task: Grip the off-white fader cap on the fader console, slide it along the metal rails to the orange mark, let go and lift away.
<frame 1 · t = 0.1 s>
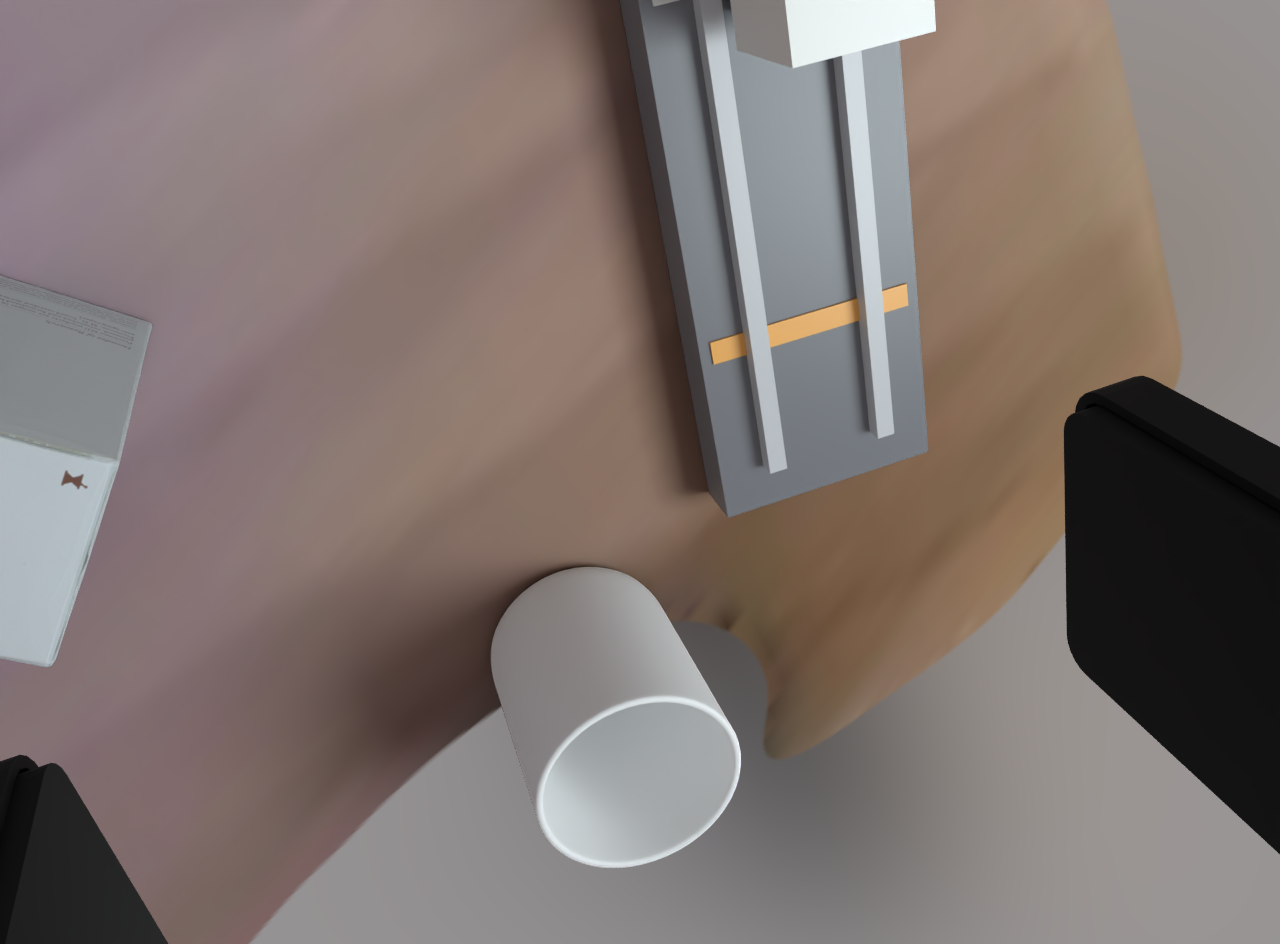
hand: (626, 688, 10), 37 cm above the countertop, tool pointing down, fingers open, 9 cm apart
supplement box: (24, 375, 43), on the countertop
mug: (595, 655, 56), on the countertop
fader console: (769, 171, 48), on the countertop
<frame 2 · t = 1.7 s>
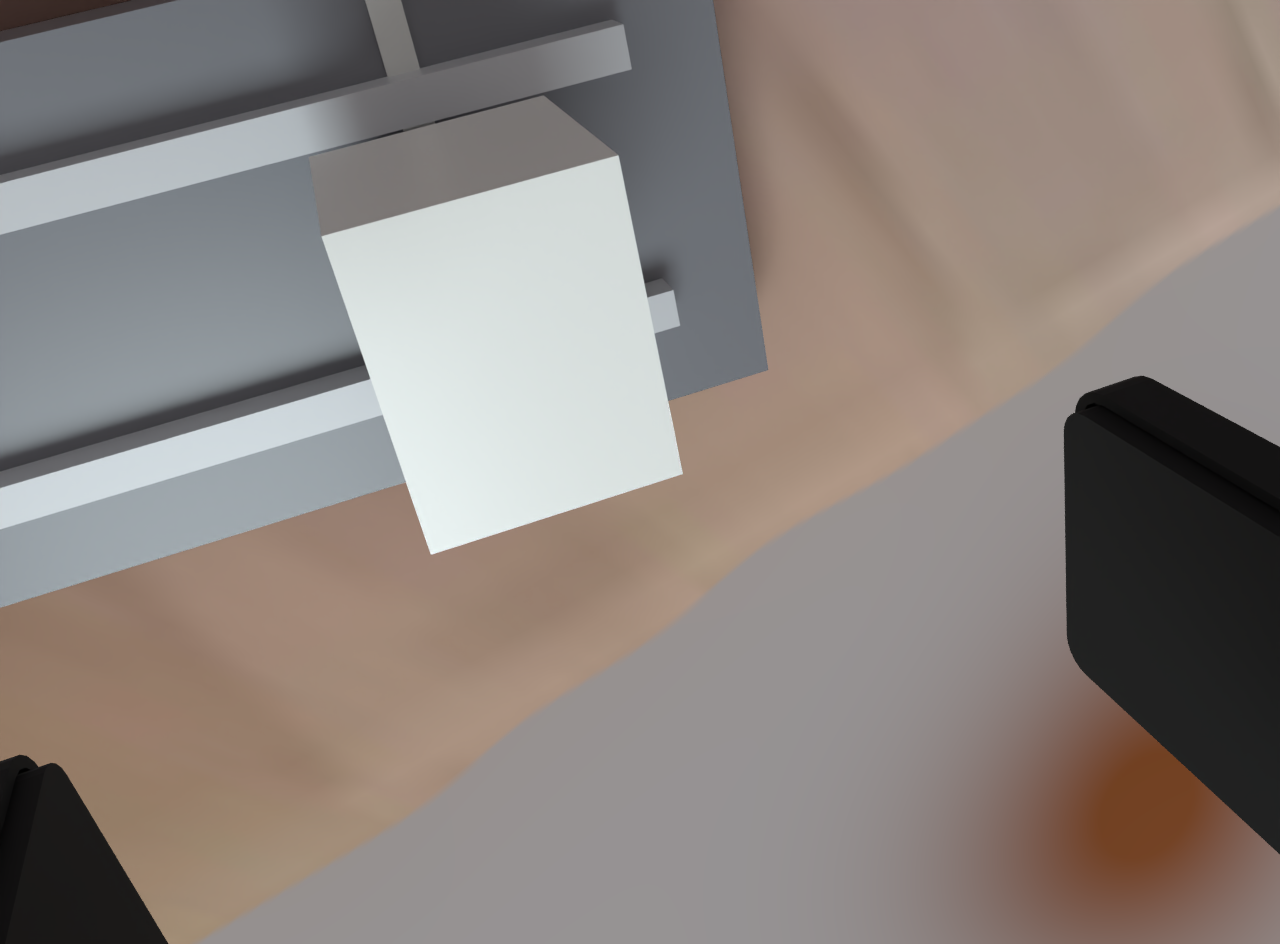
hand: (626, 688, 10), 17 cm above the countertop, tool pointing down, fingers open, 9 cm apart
fader cap: (479, 289, 19), point 6 cm above the countertop, slide at -8.0 cm
fader console: (49, 302, 23), on the countertop
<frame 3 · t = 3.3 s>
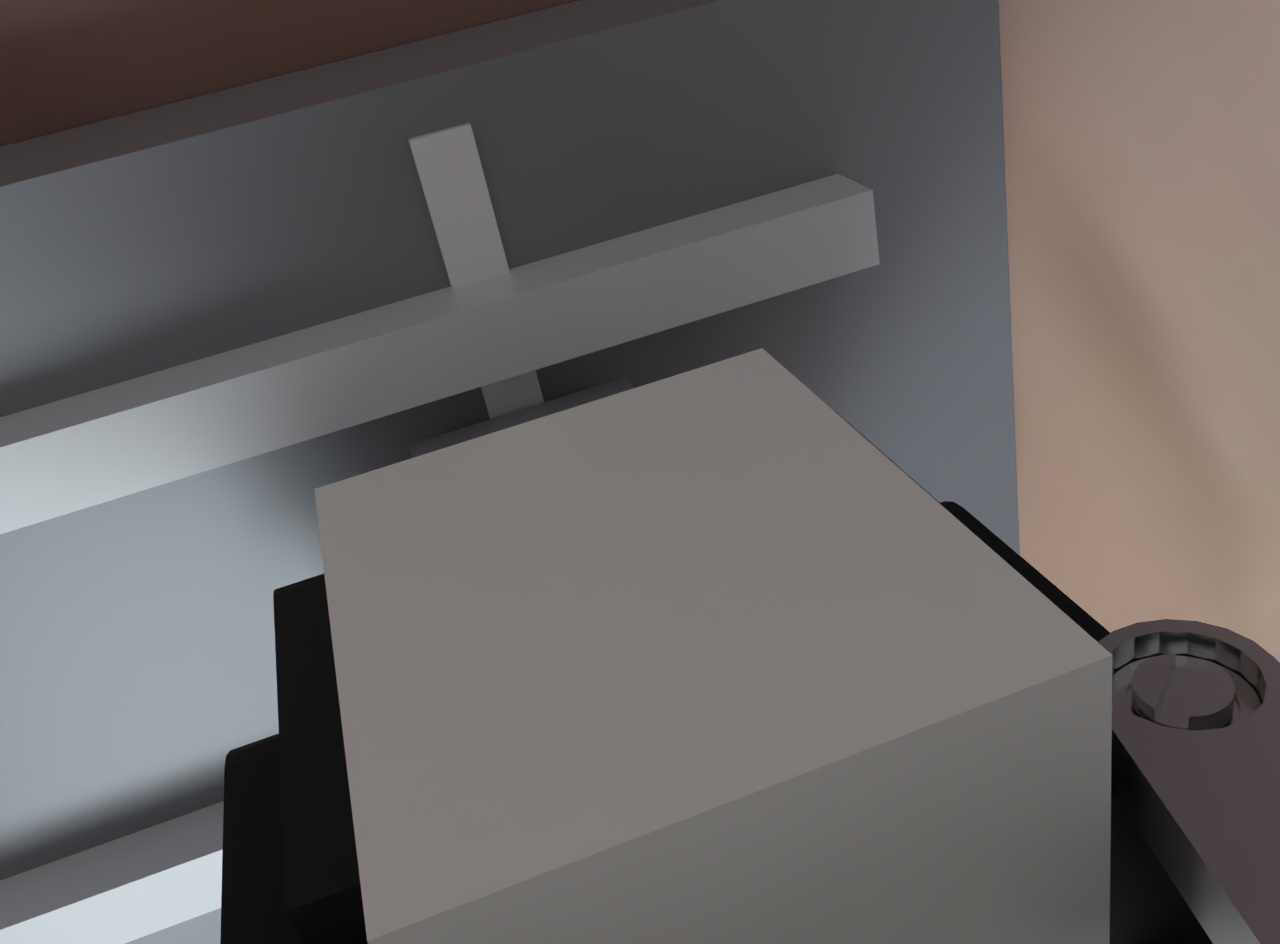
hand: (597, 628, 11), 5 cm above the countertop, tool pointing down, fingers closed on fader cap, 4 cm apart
fader cap: (646, 728, 10), point 6 cm above the countertop, slide at -8.0 cm, touching gripper
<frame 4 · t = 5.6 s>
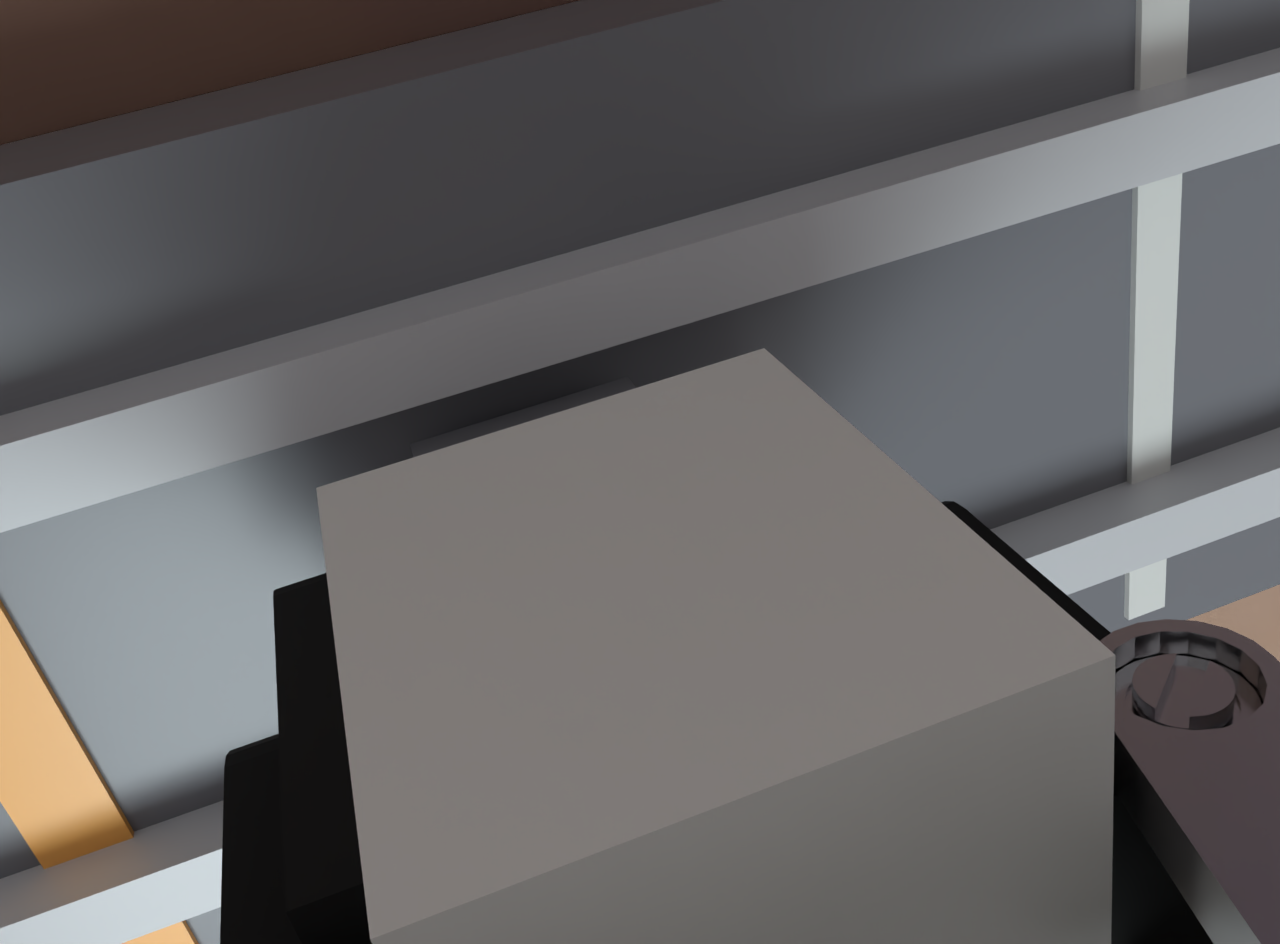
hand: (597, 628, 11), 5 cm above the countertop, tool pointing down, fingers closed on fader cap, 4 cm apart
fader cap: (647, 728, 10), point 6 cm above the countertop, slide at 0.0 cm, touching gripper
fader console: (502, 436, 15), on the countertop
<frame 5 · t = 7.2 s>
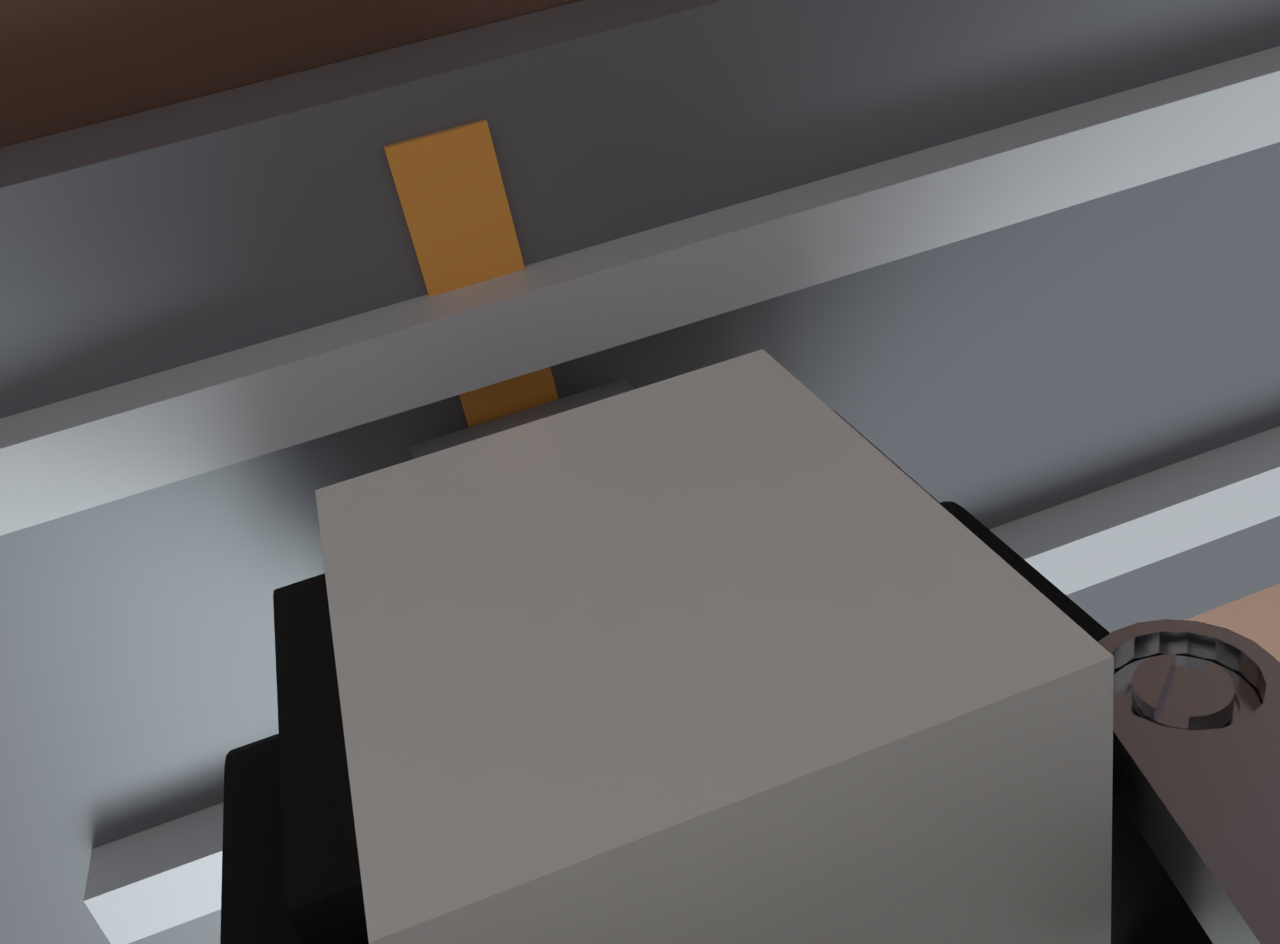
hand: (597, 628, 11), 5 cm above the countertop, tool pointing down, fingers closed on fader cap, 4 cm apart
fader cap: (647, 729, 10), point 6 cm above the countertop, slide at 6.0 cm, touching gripper
fader console: (909, 308, 16), on the countertop
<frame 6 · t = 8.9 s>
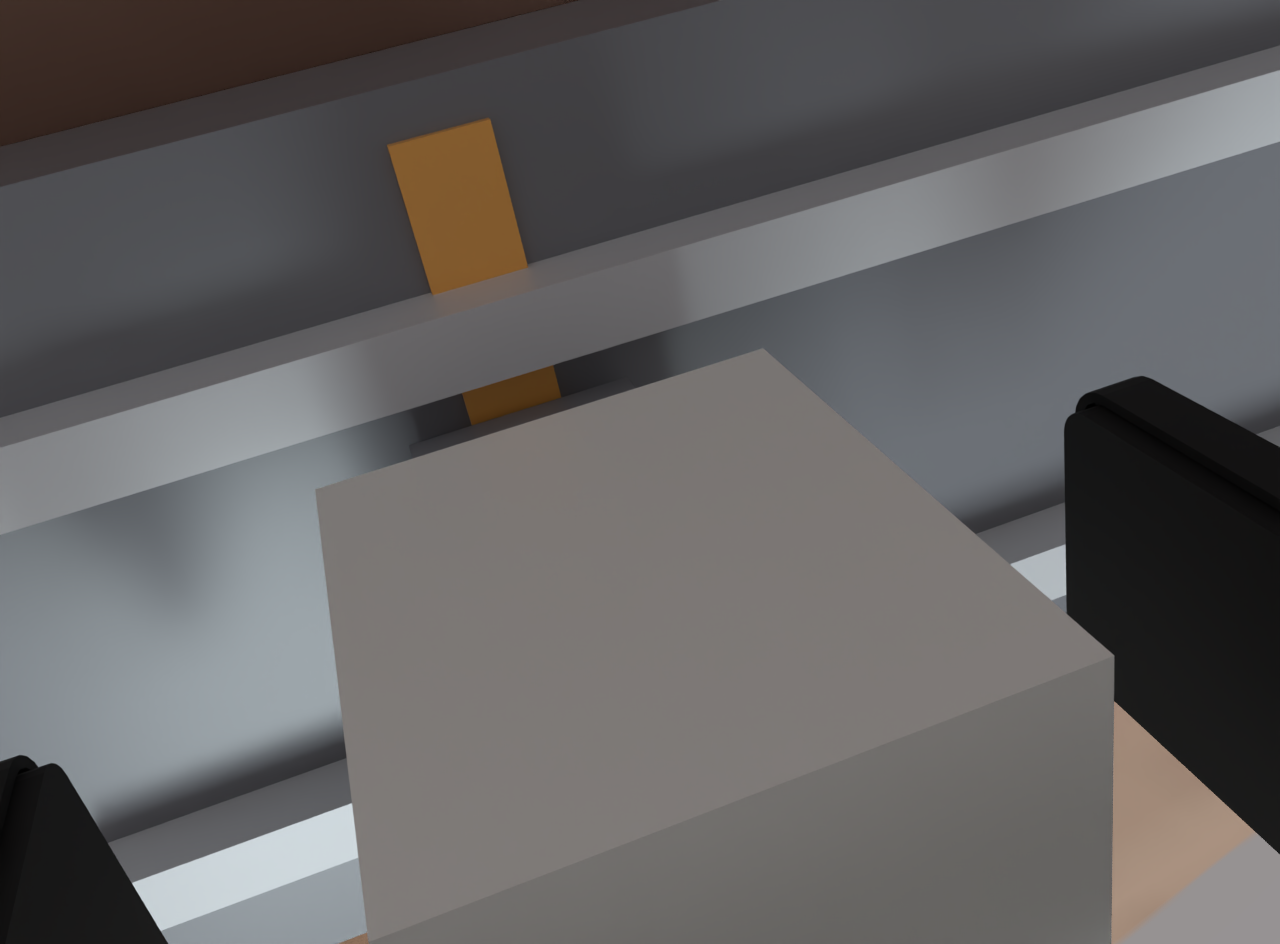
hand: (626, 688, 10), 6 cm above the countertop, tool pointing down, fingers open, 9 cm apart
fader cap: (647, 729, 10), point 6 cm above the countertop, slide at 6.0 cm
fader console: (911, 307, 16), on the countertop
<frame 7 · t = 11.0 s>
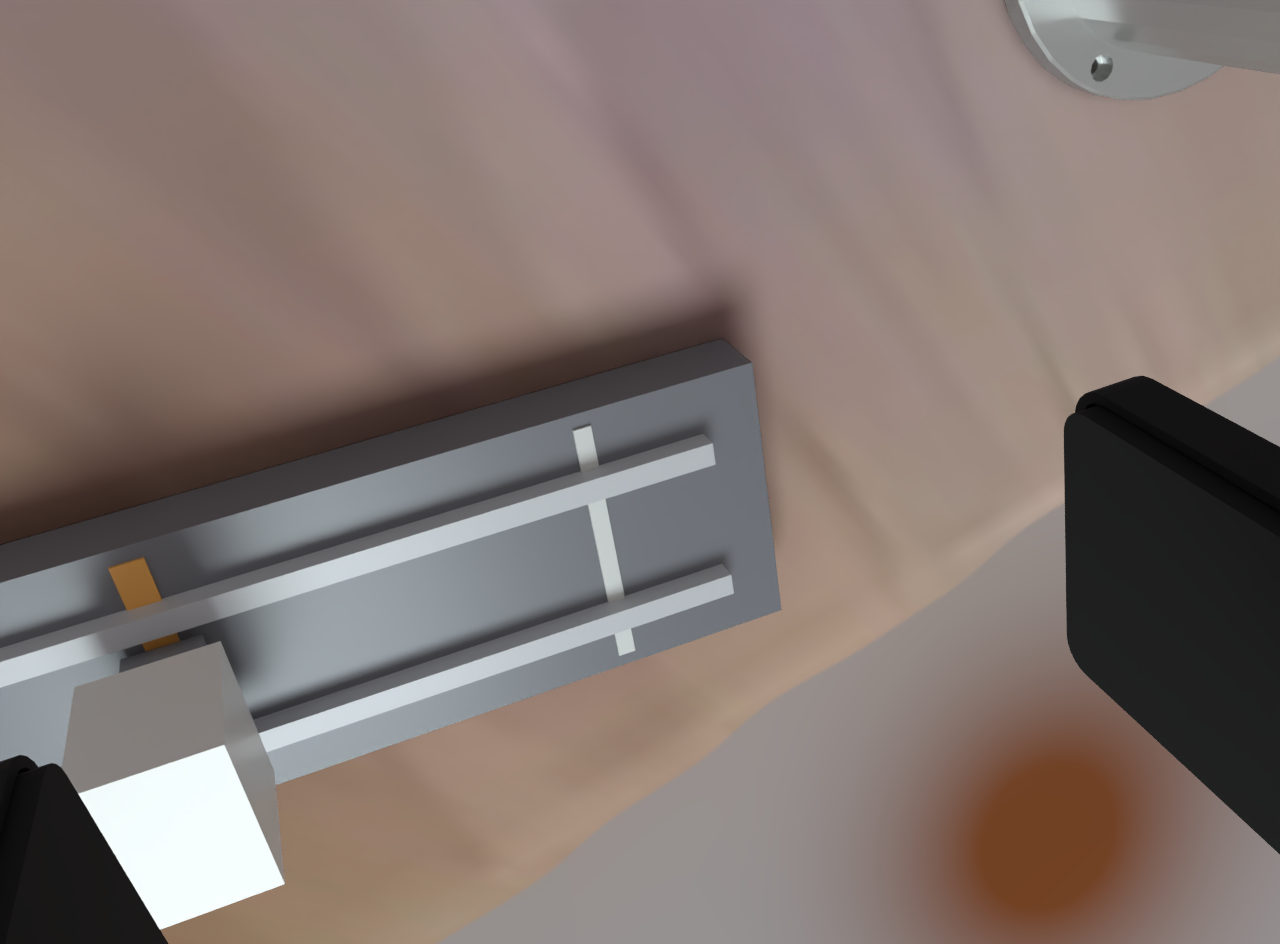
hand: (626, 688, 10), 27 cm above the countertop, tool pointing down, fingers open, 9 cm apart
fader cap: (178, 759, 33), point 6 cm above the countertop, slide at 6.0 cm
fader console: (361, 582, 39), on the countertop
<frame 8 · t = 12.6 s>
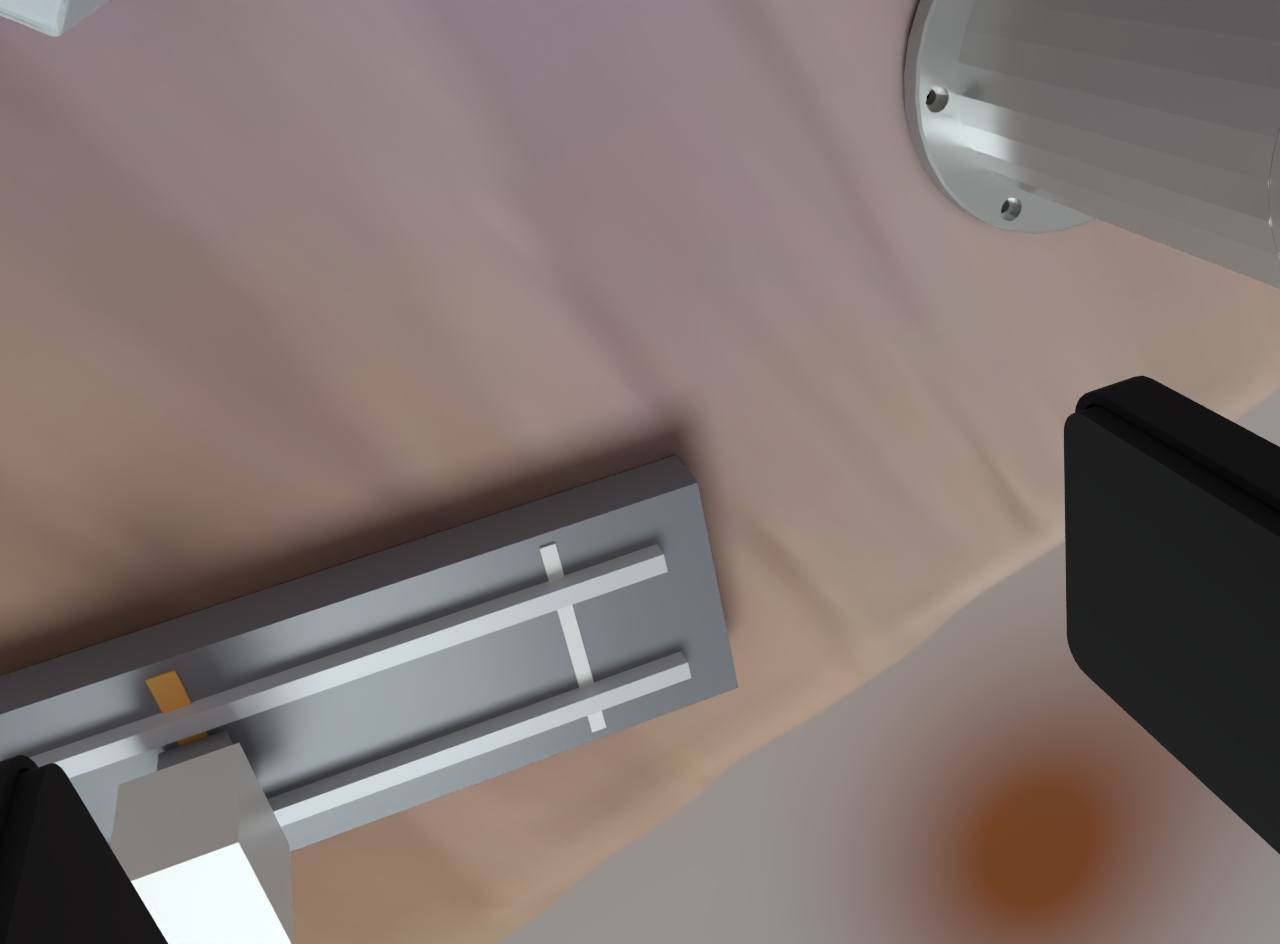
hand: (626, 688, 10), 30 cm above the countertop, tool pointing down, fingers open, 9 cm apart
fader cap: (206, 842, 39), point 6 cm above the countertop, slide at 6.0 cm
fader console: (364, 673, 45), on the countertop
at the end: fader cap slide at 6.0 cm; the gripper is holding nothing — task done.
